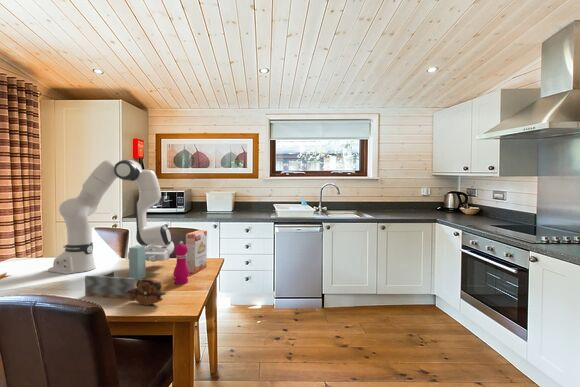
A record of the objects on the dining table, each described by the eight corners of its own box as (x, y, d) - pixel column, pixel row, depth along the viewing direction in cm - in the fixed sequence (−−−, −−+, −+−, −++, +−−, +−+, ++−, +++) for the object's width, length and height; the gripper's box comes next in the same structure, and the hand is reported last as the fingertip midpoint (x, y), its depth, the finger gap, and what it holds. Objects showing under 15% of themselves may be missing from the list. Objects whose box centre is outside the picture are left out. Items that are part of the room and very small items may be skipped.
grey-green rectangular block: (129, 280, 160) (128, 247, 159) (137, 276, 167) (137, 245, 166) (137, 280, 160) (137, 248, 159) (145, 277, 166) (145, 245, 165)
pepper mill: (180, 285, 153) (180, 243, 152) (170, 283, 157) (169, 241, 156) (192, 281, 159) (192, 240, 158) (182, 279, 163) (182, 239, 162)
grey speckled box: (85, 296, 138) (84, 276, 138) (113, 282, 156) (113, 265, 156) (133, 299, 135) (133, 279, 135) (157, 285, 153) (157, 267, 153)
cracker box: (195, 273, 172) (195, 234, 171) (185, 273, 174) (184, 233, 173) (207, 266, 186) (207, 230, 185) (197, 266, 187) (197, 229, 186)
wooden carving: (123, 304, 129) (123, 279, 129) (131, 300, 134) (131, 276, 133) (162, 308, 127) (162, 282, 126) (168, 303, 131) (168, 279, 131)
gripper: (136, 246, 179) (120, 251, 165) (171, 247, 176) (158, 253, 163) (136, 257, 179) (120, 264, 166) (171, 259, 177) (158, 266, 163)
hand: (139, 259), depth 164 cm, fingers open, 8 cm apart
